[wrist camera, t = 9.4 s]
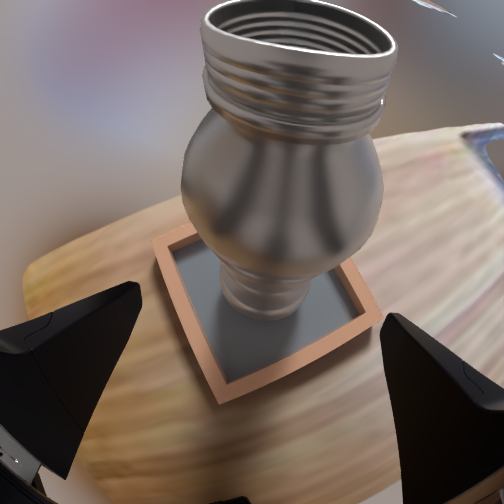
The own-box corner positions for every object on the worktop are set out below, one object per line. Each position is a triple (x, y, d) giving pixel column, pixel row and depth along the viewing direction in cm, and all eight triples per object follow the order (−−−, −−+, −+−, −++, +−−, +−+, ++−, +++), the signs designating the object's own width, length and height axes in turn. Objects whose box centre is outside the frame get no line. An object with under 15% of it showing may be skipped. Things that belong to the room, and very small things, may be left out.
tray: (372, 321, 22) (383, 317, 20) (222, 399, 20) (219, 404, 17) (296, 190, 26) (299, 177, 24) (158, 249, 24) (150, 239, 22)
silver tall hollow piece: (245, 235, 24) (229, -20, 5) (316, 268, 23) (452, 44, 4) (208, 300, 22) (47, 83, 3) (284, 338, 21) (495, 238, 2)
